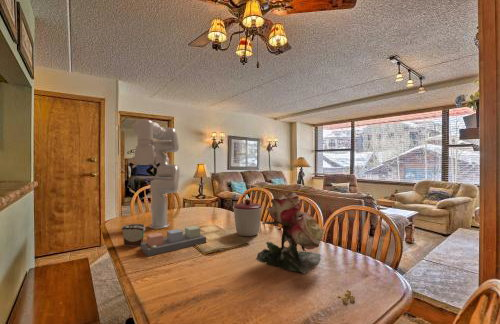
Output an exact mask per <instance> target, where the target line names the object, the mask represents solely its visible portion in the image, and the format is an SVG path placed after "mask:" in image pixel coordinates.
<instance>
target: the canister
mask: <svg viewBox="0 0 500 324" xmlns="http://www.w3.org/2000/svg"><path fill="white" fill-rule="evenodd" d="M232 209H233V214H234V222H235V223H234V224H235V230H236V231H235V232H236V234H238V235H239V236H242V237H254V236H256V235H258V234H259V232H260V227H261V218H262V209H264V207H263V206H262V205H261V204H259V203H255V202H252V201H251V199H250V198H246V199H245V200H244V202H240V203H236V204H235V205H233V206H232Z"/></svg>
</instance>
